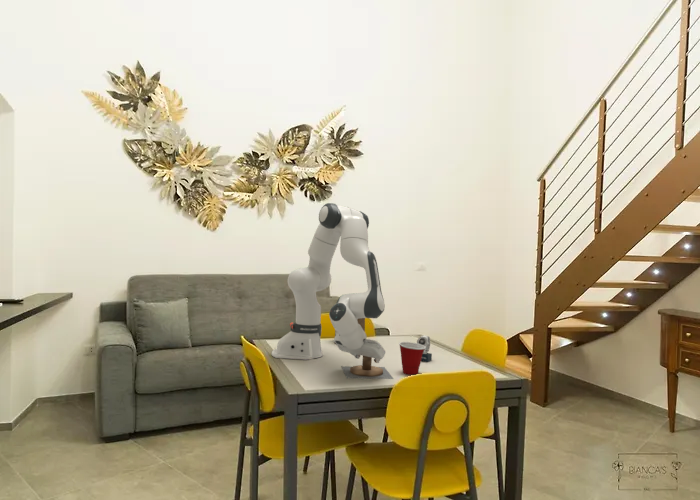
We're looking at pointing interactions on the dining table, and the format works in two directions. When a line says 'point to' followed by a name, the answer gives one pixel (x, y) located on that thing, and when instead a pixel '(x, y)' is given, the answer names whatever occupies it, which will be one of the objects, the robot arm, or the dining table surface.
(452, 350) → the dining table surface
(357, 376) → the rubber mat
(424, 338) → the grey black curved piece
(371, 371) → the walnut lid
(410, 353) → the plastic cup
